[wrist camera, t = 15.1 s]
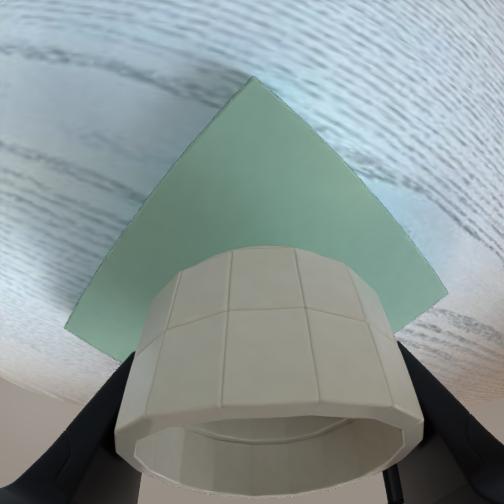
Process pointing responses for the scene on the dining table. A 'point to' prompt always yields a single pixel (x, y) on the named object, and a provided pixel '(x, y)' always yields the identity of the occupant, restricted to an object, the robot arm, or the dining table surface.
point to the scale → (252, 221)
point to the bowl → (267, 379)
